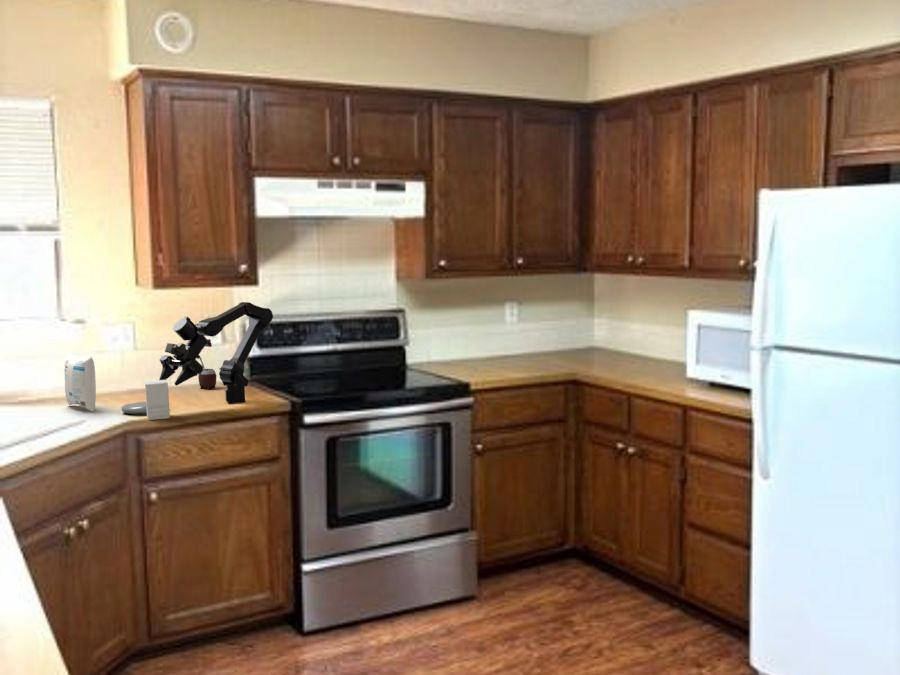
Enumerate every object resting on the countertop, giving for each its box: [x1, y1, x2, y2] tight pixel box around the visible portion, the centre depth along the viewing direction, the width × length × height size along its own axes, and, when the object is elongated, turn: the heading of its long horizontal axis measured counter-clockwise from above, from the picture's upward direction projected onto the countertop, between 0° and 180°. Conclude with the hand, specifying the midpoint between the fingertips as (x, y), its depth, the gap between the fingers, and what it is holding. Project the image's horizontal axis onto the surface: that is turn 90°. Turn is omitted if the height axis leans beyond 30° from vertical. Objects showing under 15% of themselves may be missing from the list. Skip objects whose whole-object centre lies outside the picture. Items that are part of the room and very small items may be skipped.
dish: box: [121, 401, 147, 415], centre depth 320 cm, size 15×15×2 cm
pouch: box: [64, 352, 97, 413], centre depth 326 cm, size 8×19×20 cm, turn 44°
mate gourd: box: [197, 356, 217, 391], centre depth 364 cm, size 8×8×15 cm
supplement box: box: [144, 379, 171, 421], centre depth 309 cm, size 7×7×13 cm
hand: (167, 383), depth 311 cm, fingers open, 9 cm apart
